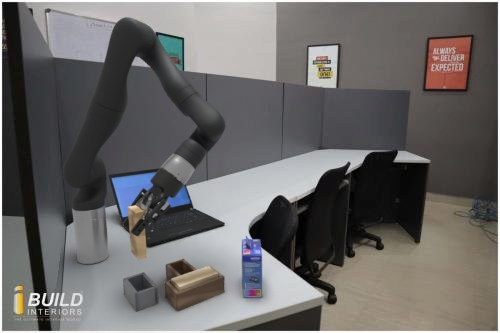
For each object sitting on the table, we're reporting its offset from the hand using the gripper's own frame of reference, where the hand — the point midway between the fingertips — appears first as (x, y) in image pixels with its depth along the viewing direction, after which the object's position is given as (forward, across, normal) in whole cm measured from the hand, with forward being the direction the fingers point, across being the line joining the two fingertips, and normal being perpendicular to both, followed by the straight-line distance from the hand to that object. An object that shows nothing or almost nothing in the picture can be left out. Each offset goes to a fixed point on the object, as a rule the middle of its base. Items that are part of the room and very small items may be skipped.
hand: (129, 230), depth 82 cm
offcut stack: (+4, +7, +23) cm, 25 cm away
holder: (+12, 0, +15) cm, 19 cm away
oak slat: (+4, 0, +6) cm, 7 cm away
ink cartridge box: (-6, +13, +33) cm, 36 cm away
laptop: (-7, -47, +35) cm, 59 cm away
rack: (+4, +3, +23) cm, 24 cm away
